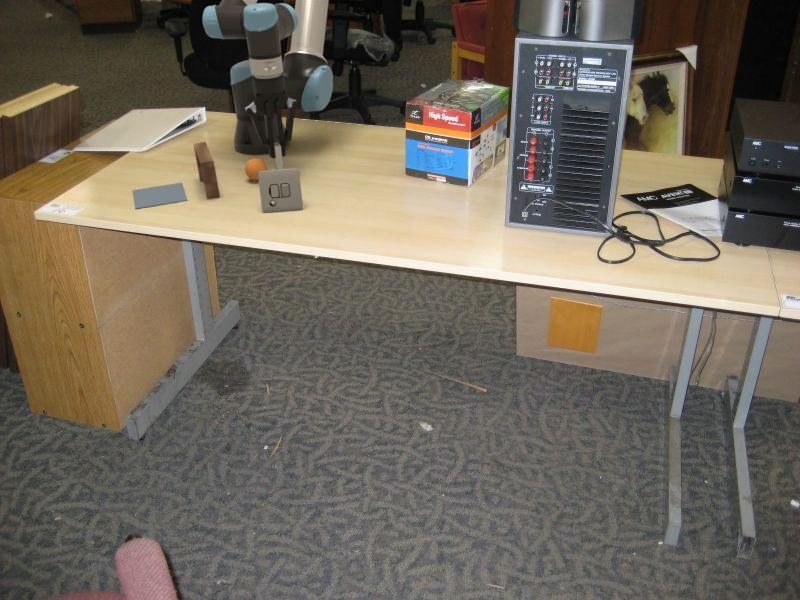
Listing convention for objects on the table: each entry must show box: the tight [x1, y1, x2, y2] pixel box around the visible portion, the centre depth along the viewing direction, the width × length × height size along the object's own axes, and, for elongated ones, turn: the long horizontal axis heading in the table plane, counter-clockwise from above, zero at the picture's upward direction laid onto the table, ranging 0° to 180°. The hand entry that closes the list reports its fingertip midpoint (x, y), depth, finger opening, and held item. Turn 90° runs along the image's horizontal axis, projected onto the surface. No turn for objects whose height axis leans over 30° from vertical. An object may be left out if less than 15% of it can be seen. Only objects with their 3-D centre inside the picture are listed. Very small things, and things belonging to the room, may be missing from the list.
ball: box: [244, 157, 269, 182], centre depth 186 cm, size 6×6×6 cm
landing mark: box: [131, 182, 188, 210], centre depth 181 cm, size 12×12×1 cm
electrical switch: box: [258, 167, 304, 213], centre depth 171 cm, size 9×5×9 cm, turn 96°
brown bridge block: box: [192, 141, 221, 200], centre depth 182 cm, size 3×14×9 cm, turn 20°
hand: (279, 169), depth 188 cm, fingers closed
